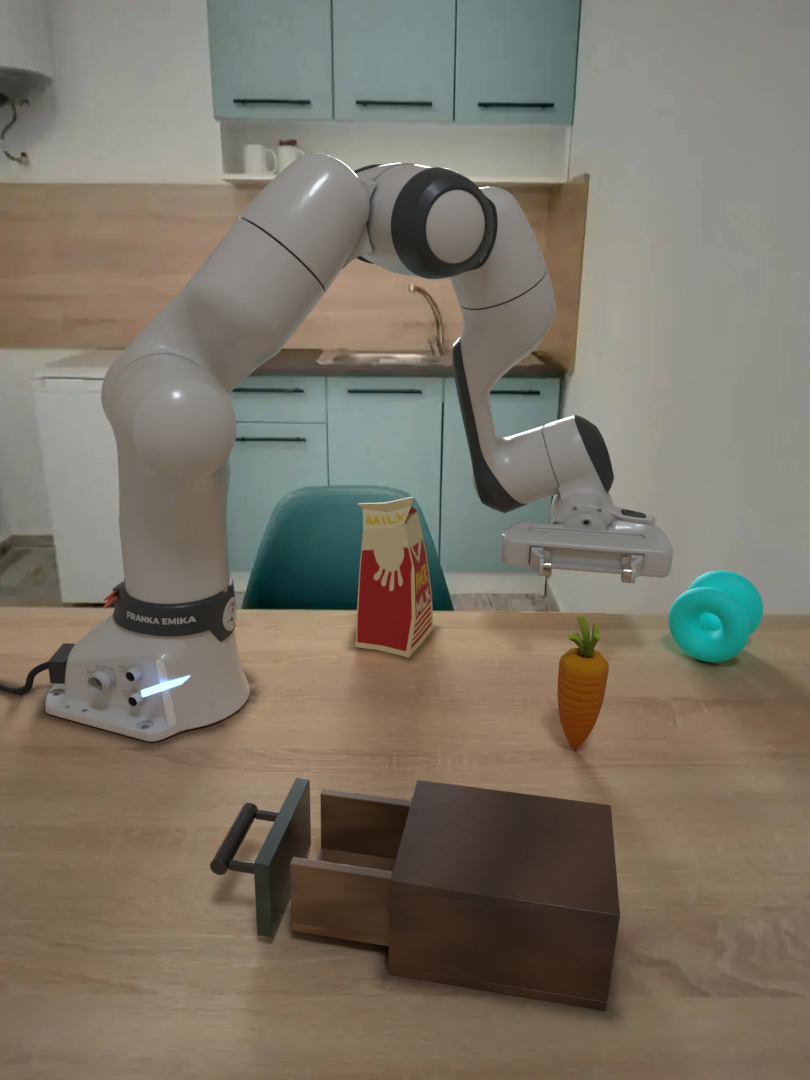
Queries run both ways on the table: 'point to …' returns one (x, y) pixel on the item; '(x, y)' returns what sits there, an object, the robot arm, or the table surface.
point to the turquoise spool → (715, 616)
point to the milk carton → (393, 580)
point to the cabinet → (506, 894)
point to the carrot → (581, 685)
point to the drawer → (322, 863)
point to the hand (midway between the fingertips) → (586, 573)
